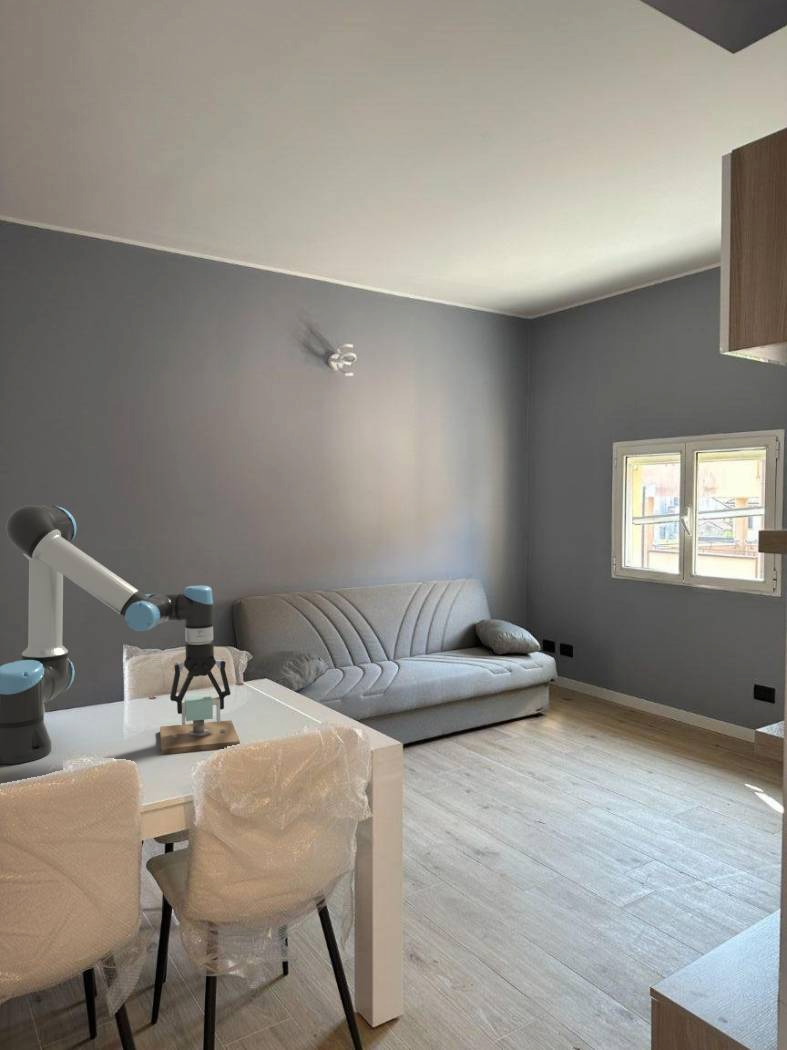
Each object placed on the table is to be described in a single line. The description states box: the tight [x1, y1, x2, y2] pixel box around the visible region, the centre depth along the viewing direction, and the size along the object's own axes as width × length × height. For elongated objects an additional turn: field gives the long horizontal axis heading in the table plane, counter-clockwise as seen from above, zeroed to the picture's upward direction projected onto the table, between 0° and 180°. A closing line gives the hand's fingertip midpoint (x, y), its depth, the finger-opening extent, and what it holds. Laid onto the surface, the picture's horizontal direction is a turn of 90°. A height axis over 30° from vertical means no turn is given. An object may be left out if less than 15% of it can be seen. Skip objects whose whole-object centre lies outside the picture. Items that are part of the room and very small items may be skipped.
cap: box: [184, 693, 218, 722], centre depth 201 cm, size 8×7×5 cm
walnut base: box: [159, 719, 241, 755], centre depth 201 cm, size 20×20×6 cm
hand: (201, 722), depth 201 cm, fingers open, 9 cm apart
